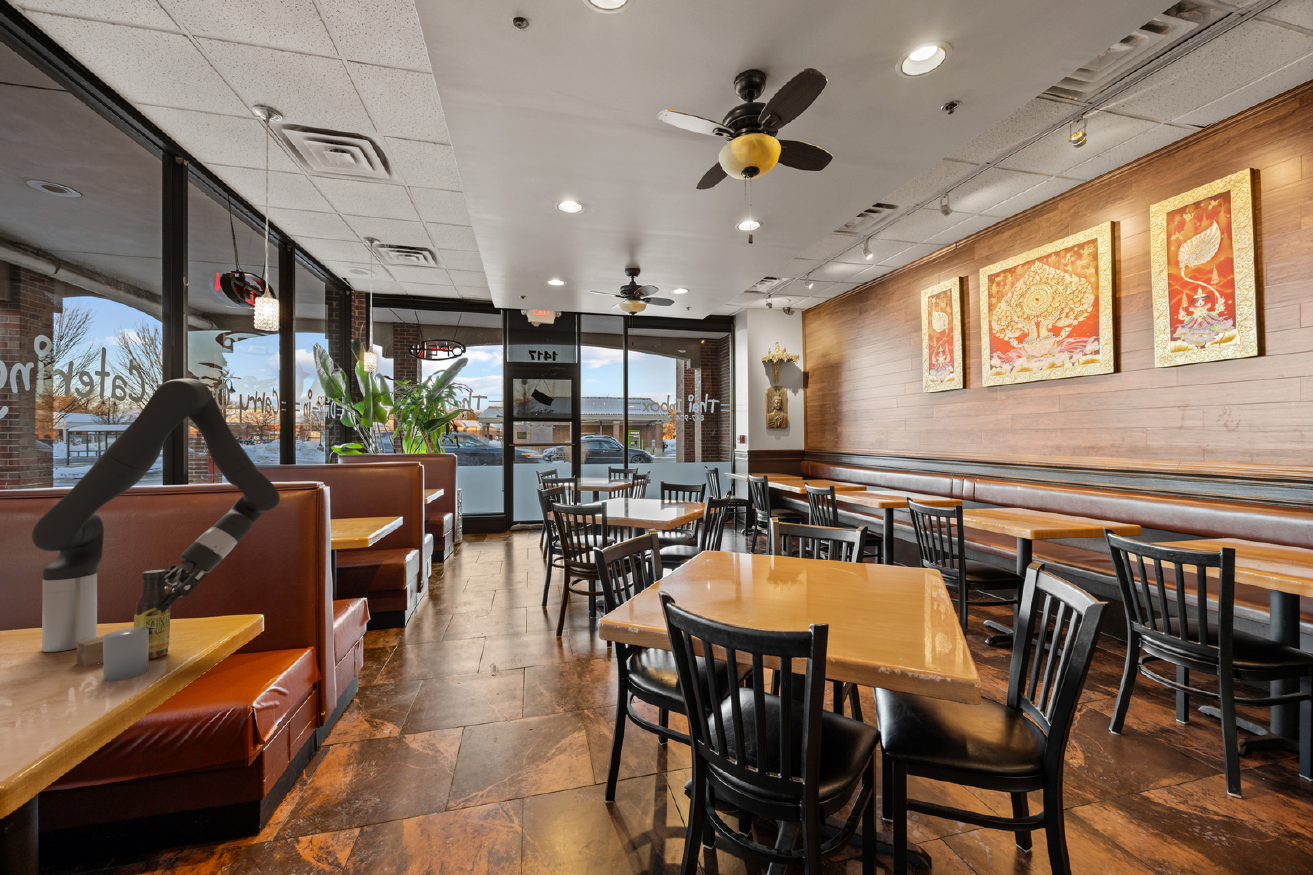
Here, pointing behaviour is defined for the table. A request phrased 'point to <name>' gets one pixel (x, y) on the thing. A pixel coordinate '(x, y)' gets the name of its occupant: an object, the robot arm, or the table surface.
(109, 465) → the robot arm
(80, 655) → the walnut block
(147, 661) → the grey rounded cylinder
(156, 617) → the sauce bottle
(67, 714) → the table surface
